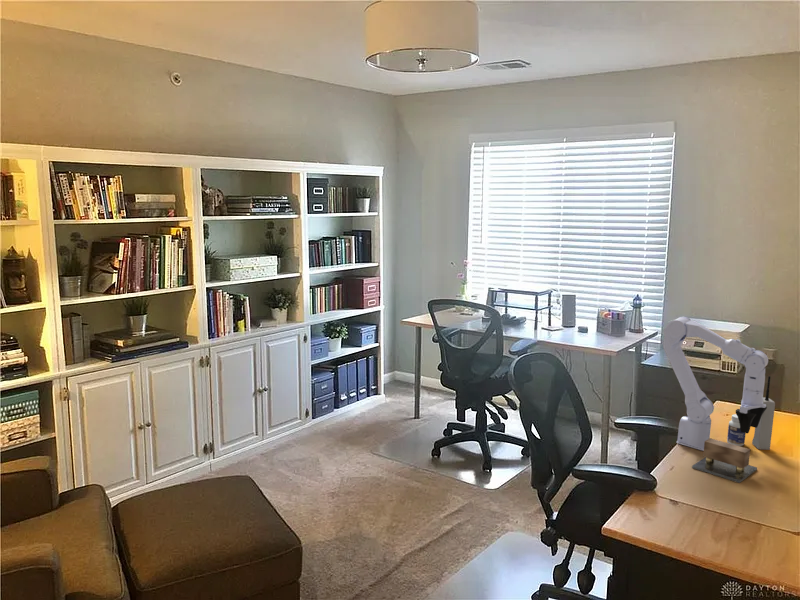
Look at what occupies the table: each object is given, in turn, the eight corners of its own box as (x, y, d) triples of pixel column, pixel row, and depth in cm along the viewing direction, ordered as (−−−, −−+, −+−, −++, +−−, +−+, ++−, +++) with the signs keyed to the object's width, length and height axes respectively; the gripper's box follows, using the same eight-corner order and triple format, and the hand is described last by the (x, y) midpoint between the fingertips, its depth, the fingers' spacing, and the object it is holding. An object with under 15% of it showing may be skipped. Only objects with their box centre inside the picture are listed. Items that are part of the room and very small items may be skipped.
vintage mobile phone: (763, 444, 223) (771, 373, 218) (769, 450, 218) (778, 378, 214) (751, 443, 223) (759, 373, 219) (758, 449, 218) (766, 377, 214)
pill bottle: (726, 444, 222) (729, 417, 221) (727, 439, 227) (729, 412, 225) (744, 447, 220) (747, 419, 218) (744, 442, 225) (747, 415, 223)
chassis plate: (692, 467, 203) (692, 459, 202) (710, 456, 212) (711, 447, 212) (739, 483, 193) (740, 474, 192) (756, 469, 202) (757, 461, 202)
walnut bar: (703, 456, 205) (704, 441, 204) (708, 453, 208) (709, 438, 207) (743, 468, 196) (745, 452, 195) (748, 464, 199) (750, 449, 198)
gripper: (758, 396, 200) (754, 438, 202) (775, 387, 210) (770, 427, 212) (734, 391, 205) (730, 432, 208) (751, 382, 215) (747, 421, 217)
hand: (749, 429), depth 210 cm, fingers open, 7 cm apart
